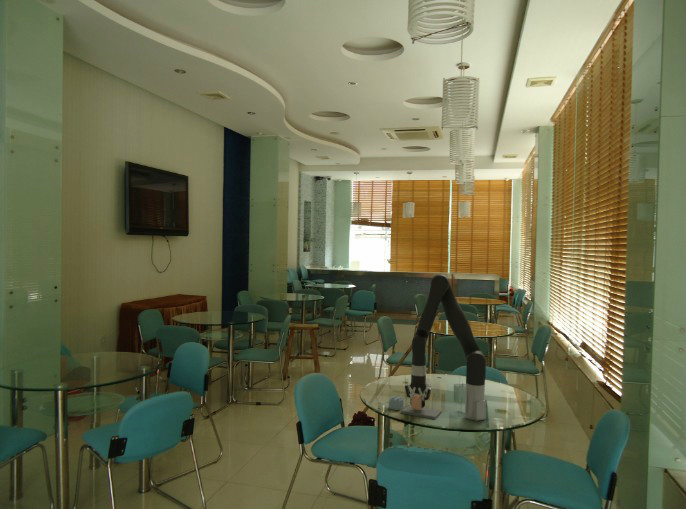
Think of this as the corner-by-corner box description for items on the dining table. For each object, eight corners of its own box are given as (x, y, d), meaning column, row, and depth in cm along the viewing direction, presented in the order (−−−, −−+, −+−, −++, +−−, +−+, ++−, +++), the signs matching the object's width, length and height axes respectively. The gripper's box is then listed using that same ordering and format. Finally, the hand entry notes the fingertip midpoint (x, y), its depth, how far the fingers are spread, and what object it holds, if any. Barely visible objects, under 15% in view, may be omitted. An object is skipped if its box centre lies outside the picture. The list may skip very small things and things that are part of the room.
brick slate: (403, 407, 272) (403, 396, 272) (399, 410, 267) (400, 399, 267) (392, 406, 275) (392, 395, 274) (389, 408, 270) (389, 397, 270)
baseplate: (441, 413, 265) (441, 410, 265) (435, 419, 255) (435, 416, 255) (408, 407, 273) (408, 404, 273) (400, 413, 263) (400, 410, 263)
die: (434, 392, 304) (428, 376, 309) (432, 388, 297) (427, 372, 302) (420, 396, 305) (415, 381, 310) (419, 392, 297) (413, 377, 303)
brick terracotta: (414, 405, 268) (415, 394, 268) (424, 406, 266) (424, 395, 266) (411, 408, 263) (411, 397, 263) (420, 409, 261) (420, 398, 261)
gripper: (402, 373, 264) (401, 406, 264) (429, 377, 258) (429, 411, 258) (407, 370, 271) (406, 402, 271) (434, 373, 264) (433, 406, 265)
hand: (417, 406), depth 265 cm, fingers closed on brick terracotta, 4 cm apart
